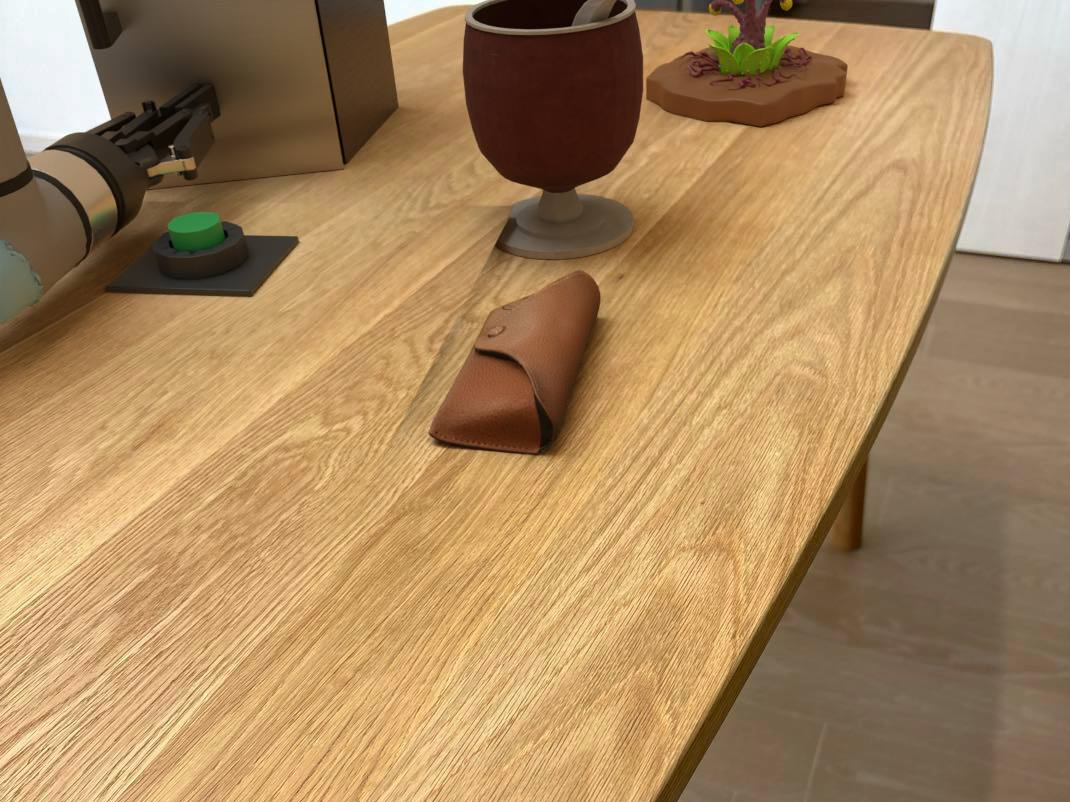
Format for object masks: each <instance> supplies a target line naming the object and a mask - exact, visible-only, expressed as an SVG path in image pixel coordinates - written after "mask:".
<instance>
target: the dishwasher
mask: <svg viewBox="0 0 1070 802" xmlns="http://www.w3.org/2000/svg"><path fill="white" fill-rule="evenodd" d="M314 1H315V6H316V12H317V18H318V23H319V29H320V35H321V40H322V46H323V51H324V57H325V63H326V68H327V74H328V80H329V85H330V91H331V96H332V102H333V108H334V113H335V119H336V125H337V130H338V136H339V141H340V147H341V153H342V158H343V164H344V166H345V165H348V164H349V163H350V162H351V160H352V159H353V158H354V157H355V156H356V155H357V154H358V153H359V151H361V149H362V148H363V147H364V146H365V145H366V144H367V143H368V142H369V141H370V139H371V138H372V137H373V136H374V135H375V134H376V133H377V132H378V131H379V129H380V128H382V126H383V125H384V124H385V123H386V122H387V121H388V120H389V119H390V117H391V116H392V115H393V114H394V113H395V112H396V110H398V109H399V107H400V106H399V99H398V93H397V84H396V77H395V70H394V64H393V57H392V50H391V42H390V36H389V35H390V33H389V28H388V20H387V12H386V6H385V0H314Z"/></svg>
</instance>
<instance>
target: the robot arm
mask: <svg viewBox="0 0 1070 802" xmlns="http://www.w3.org/2000/svg"><path fill="white" fill-rule="evenodd" d="M141 104H142V107H143V111H144V112H143V113H142V114H140V115H139V116H138V117H136V115H135V113H134V112H125V113H124V114H121V115H119V116H117V117H115V118H113V119H111V118H110V119H109V120H107V121H105V122H103V123H100V124H99V125H97V126H95V127H93V128H90V129H88V130H86V131H78V132H72V133H69V134H66V135H65V136H63V137H61V138H60V139H58V140H56V141H55V142H54V143H51V144H50V145H49V146H47V147H45V148H44V149H43V150H41V151H40V152H37V153H35V154H34V155H32V156H31V157H29V158H27V155H26V152H25V149H24V146H23V143H22V140H21V137H20V134H19V131H18V128H17V125H16V121H15V118H14V115H13V113H12V110H11V106H10V103H9V100H8V98H7V94H6V91H5V88H4V85H3V82H2V79H1V77H0V327H2V326H3V325H4V324H7V323H8V322H9V321H10V320H12V319H14V318H15V317H17V316H18V315H19V314H21V313H22V312H24V311H25V310H27V309H28V308H33V307H34V306H35V305H36V304H38V303H40V300H41V299H42V297H43V296H44V295H45V294H46V293H48V292H49V291H50V290H51V289H52V288H53V287H54V286H55V285H56V284H57V283H58V282H59V281H60V280H62V279H63V277H65V276H66V275H67V274H68V273H70V272H71V271H72V270H73V269H77V268H78V267H79V266H80V264H81V263H82V262H83V261H84V260H85V259H87V258H88V257H89V256H91V255H92V253H94V252H95V251H96V250H97V249H99V248H100V247H101V246H103V245H104V244H105V243H106V242H107V241H109V240H110V239H111V238H113V237H115V236H116V235H117V234H118V233H119V232H120V231H121V230H123V229H124V228H125V227H127V226H128V225H129V224H130V223H131V222H132V221H134V220H135V219H136V218H137V216H138V215H139V213H140V211H141V208H142V206H143V202H144V199H145V195H146V191H147V190H149V189H148V188H150V187H152V186H155V185H158V184H159V183H161V182H162V181H163V179H164V174H170V173H176V176H182V175H183V178H184V180H194V179H196V178H198V177H199V175H198V171H197V168H198V166H199V165H200V163H201V162H202V160H203V159H204V157H205V156H206V154H207V153H208V151H209V150H210V148H211V147H212V145H213V144H214V142H215V138H214V134H213V130H212V126H211V123H212V122H213V121H214V120H215V119H216V118H218V117H219V116H220V115H221V113H220V109H219V105H218V101H217V97H216V92H215V88H214V85H205V86H204V87H202V88H201V89H200V87H199V85H191V86H189V87H188V88H186V89H185V90H183V91H182V92H181V93H179V94H178V95H176V96H175V97H173V98H172V99H171V100H169V101H168V102H166V103H165V104H163V105H162V106H160V107H159V109H158V110H157V108H156V104H155V101H145V102H142V103H141ZM123 126H124V127H123ZM122 127H123V128H122ZM146 189H147V190H146Z"/></svg>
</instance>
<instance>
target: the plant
mask: <svg viewBox="0 0 1070 802" xmlns="http://www.w3.org/2000/svg"><path fill="white" fill-rule="evenodd" d="M731 1H732V2H731ZM731 1H727V0H713V1H711V3H709V6H708V11H709V14H710V15H712V16H715V17H716V16H718V15H719V14H721V12H722V7H724V8H726V9H727V10H729V11H730V13H731V14H732V15H733V16H734V18H735V19H736V21H737V23H738V24H739V28H738V27H737V26H734V25H733V24H730V25H729V26H728V28H727V36H726V35H724V34H723V33H722V32H719V31H718V30H713V29H709V28H707V29H706V30H705V34H706V35H707V36H708V37H709V38H710V39H711V41H712V43H713V44H712V43H710V44H708V47H704V48H703V49H701V50H698V51H696V52H694V51H688V52H685V53H684V54H682V55H680V56H677V57H675V58H674V59H673V60H670V61H669V62H665V63H662V64H660V65H658V66H656V67H655V68H654V69H653V71H651V73H649V74H648V76H646V80H645V98H646V100H647V101H649V102H651V103H653V104H656V105H658V106H660V107H661V108H662V110H664V111H666V112H668V113H670V114H673V115H676V116H679V117H680V116H681V117H685V118H690V119H692V120H693V119H694V120H698V121H702V122H711V123H712V122H729V123H730V122H731V123H739V124H743V125H749V126H755V127H760V128H761V127H765V126H769V125H773V124H778V123H780V122H782V121H784V120H786V119H788V118H792V117H795V116H800V115H802V114H805V113H807V112H809V111H812V110H813V109H815V108H817V107H819V106H823V105H830V104H833V103H835V102H836V99H838V98H841V97H843V96H844V95H845V91H846V83H847V76H848V67H849V66H848V64H847V63H846V61H844V60H842V59H840V58H838V57H836V56H832V55H828V54H822V53H817V52H813V51H809V50H807V49H805V48H804V47H798V46H794V45H789V44H791V42H792V41H795V39H796V38H798V37H799V35H800V32H799V31H797V32H792V33H788V34H786V35H782V36H780V37H779V38H777V39H775V40H774V41H773V39H774V35H775V32H776V26H775V25H774V24H771V25H769V26H767V22H766V20H767V15H768V13H769V8H770V6H771V4H772V2H773V1H774V0H764V1H763V4H762V5H760V9H759V11H758V13H757V9H756V0H746V1H745V0H731ZM744 1H745V5H746V7H745V9H744V10H745V14H744V13H743V12H742V11H741V10H740V9H739V8H738V7H737V6H736V5H741V4H743V3H744ZM779 5H780V8H781V9H782V10H784V11H786V12H788V11H789V10H790V9H792V7H793V0H779ZM756 13H757V14H756ZM766 26H767V27H766Z"/></svg>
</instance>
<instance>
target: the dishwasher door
mask: <svg viewBox="0 0 1070 802" xmlns="http://www.w3.org/2000/svg"><path fill="white" fill-rule="evenodd" d="M74 3H75V6H76V9H77V13H78V16H79V19H80V22H81V26H82V29H83V32H84V35H85V39H86V42H87V45H88V49H89V52H90V55H91V58H92V61H93V66H94V68H95V71H96V75H97V78H98V81H99V85H100V88H101V91H102V95H103V98H104V101H105V104H106V108H107V111H108V114H109V117H110V120H111V119H113V118H115V117H117V116H119V115H121V114H124V113H125V112H134V113H135V115H136V117H138V116H139V115H140V114H142V113H143V112H144V111H143V107H142V104H141V103H142V102H145V101H155V104H156V108H157V110H158V109H159V107H160V106H162V105H163V104H165V103H166V102H168V101H169V100H171V99H172V98H173V97H175V96H176V95H178V94H179V93H181V92H182V91H183V90H185V89H186V88H188V87H189V86H191V85H199V87H200V89H201V88H202V87H204V86H205V85H214V88H215V92H216V97H217V101H218V105H219V109H220V113H221V115H220V116H219V117H218V118H216V119H215V120H214V121H213V122H212V123H211V126H212V130H213V134H214V138H215V142H214V144H213V145H212V147H211V148H210V150H209V151H208V153H207V154H206V156H205V157H204V159H203V160H202V162H201V163H200V165H199V166H198V168H197V171H198V175H199V177H198V178H196V179H194V180H184V178H183V175H182V176H176V173H170V174H164V179H163V181H162V182H161V183H159V184H158V185H155V186H152V187H150V188H148V189H146V191H147V190H156V189H164V188H165V189H166V188H176V187H185V186H186V187H187V186H193V185H203V184H205V185H206V184H213V183H223V182H231V181H232V182H234V181H243V180H251V179H252V180H253V179H261V178H270V177H281V176H289V175H299V174H308V173H319V172H328V171H338V170H344V167H345V165H344V164H343V158H342V153H341V147H340V141H339V136H338V130H337V125H336V119H335V113H334V108H333V102H332V96H331V91H330V85H329V80H328V74H327V68H326V63H325V57H324V51H323V46H322V40H321V35H320V29H319V23H318V18H317V12H316V6H315V1H314V0H74ZM123 127H124V126H123ZM123 127H122V128H123Z"/></svg>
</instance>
